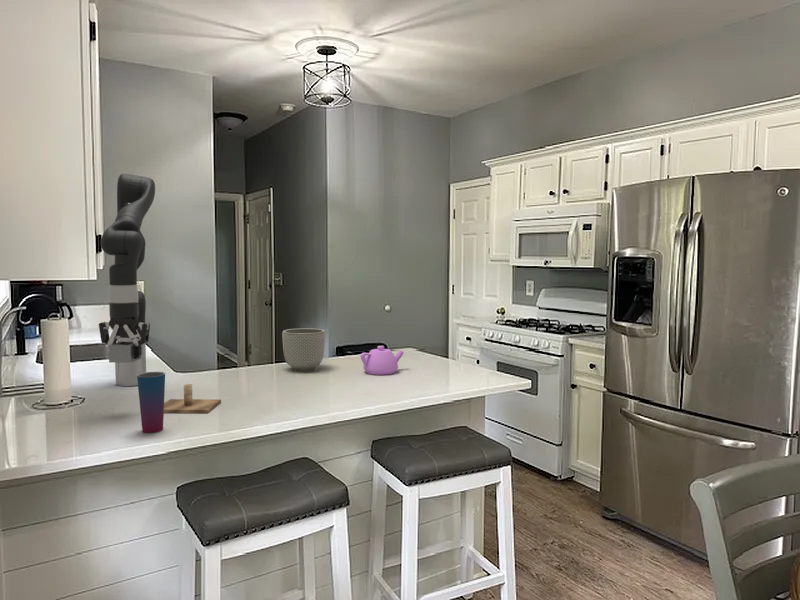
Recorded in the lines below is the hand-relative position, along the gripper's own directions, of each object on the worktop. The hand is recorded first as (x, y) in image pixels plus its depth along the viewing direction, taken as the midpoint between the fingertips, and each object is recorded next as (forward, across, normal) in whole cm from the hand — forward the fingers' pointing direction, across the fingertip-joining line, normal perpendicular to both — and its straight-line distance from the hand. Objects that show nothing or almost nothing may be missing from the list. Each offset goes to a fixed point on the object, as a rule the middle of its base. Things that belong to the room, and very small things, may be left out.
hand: (125, 358), depth 162 cm
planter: (+17, +40, +65) cm, 78 cm away
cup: (+16, +14, -15) cm, 27 cm away
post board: (+16, +15, +7) cm, 23 cm away
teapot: (+17, +72, +62) cm, 97 cm away
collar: (+1, 0, 0) cm, 1 cm away
